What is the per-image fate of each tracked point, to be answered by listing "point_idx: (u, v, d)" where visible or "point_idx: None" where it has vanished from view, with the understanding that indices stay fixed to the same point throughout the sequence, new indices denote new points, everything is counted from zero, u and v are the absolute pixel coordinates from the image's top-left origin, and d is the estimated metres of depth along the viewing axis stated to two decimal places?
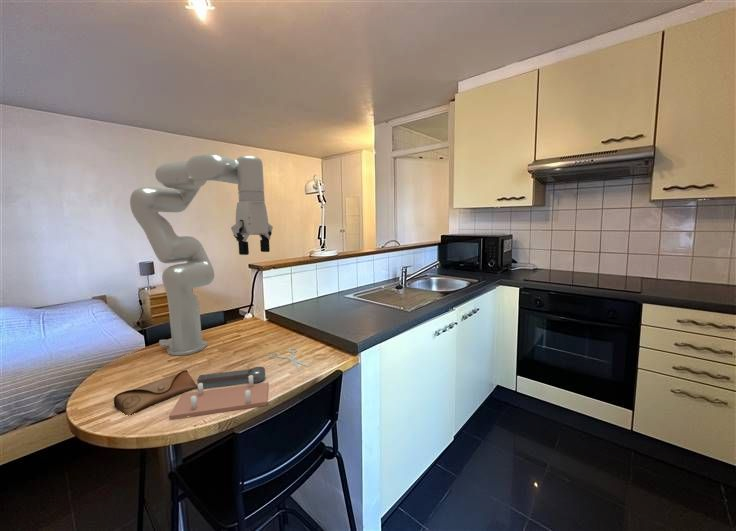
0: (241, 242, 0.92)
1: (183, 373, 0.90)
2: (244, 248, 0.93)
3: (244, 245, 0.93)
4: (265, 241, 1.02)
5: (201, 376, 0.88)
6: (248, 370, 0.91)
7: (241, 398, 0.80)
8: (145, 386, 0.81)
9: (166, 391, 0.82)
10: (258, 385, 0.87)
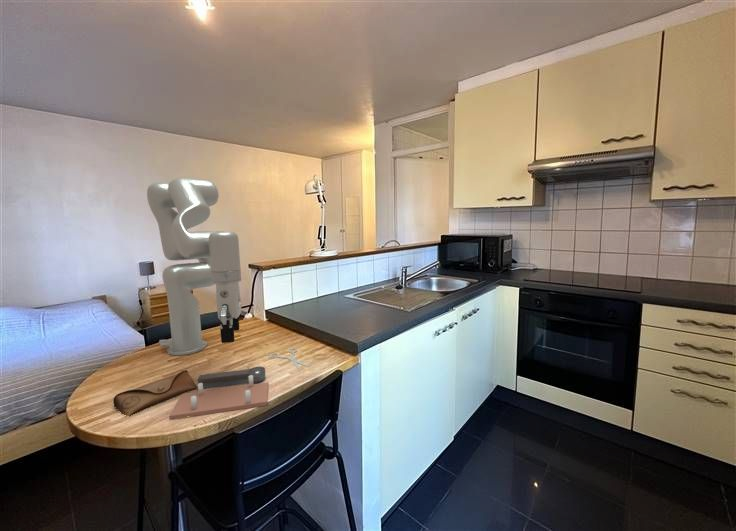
0: None
1: (183, 373, 0.89)
2: None
3: None
4: None
5: (201, 376, 0.88)
6: (248, 370, 0.91)
7: (241, 398, 0.80)
8: (145, 386, 0.81)
9: (166, 391, 0.82)
10: (258, 385, 0.87)
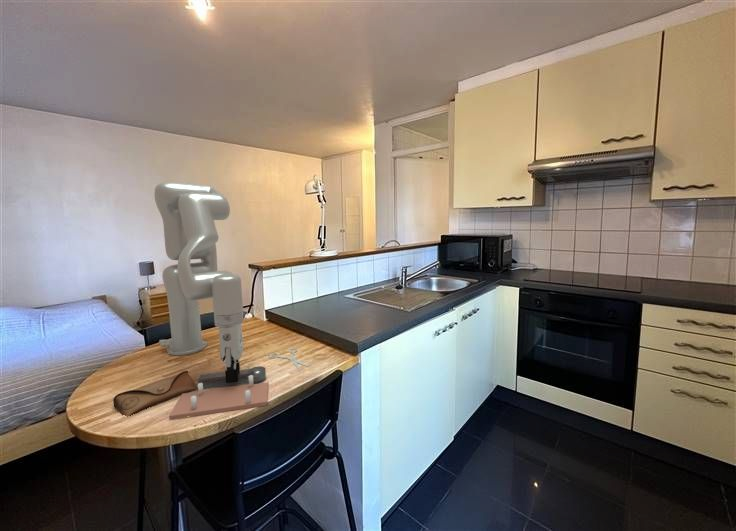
0: None
1: (183, 374, 0.89)
2: None
3: None
4: None
5: (202, 376, 0.88)
6: (248, 370, 0.91)
7: (241, 398, 0.80)
8: (145, 387, 0.81)
9: (165, 392, 0.81)
10: (258, 385, 0.87)
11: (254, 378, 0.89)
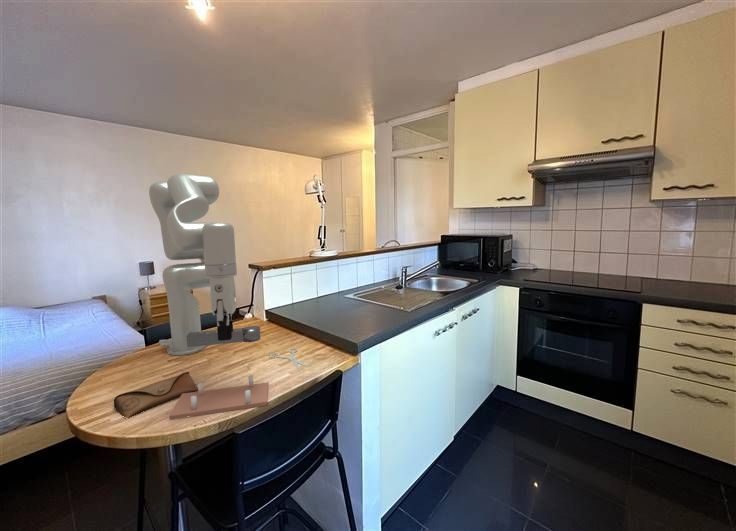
0: None
1: (184, 375, 0.89)
2: None
3: None
4: None
5: (191, 333, 0.82)
6: (242, 328, 0.85)
7: (241, 398, 0.80)
8: (145, 388, 0.80)
9: (166, 393, 0.81)
10: (258, 385, 0.87)
11: (248, 336, 0.83)
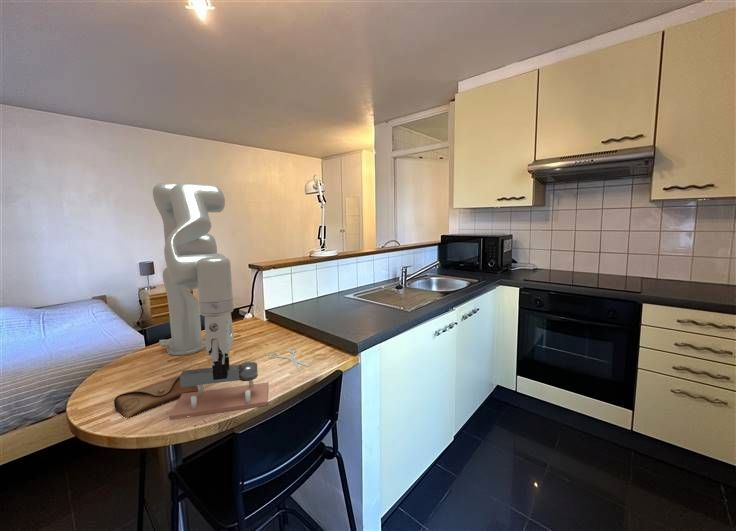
0: None
1: None
2: None
3: None
4: None
5: (185, 372, 0.78)
6: (238, 365, 0.81)
7: (241, 398, 0.80)
8: (145, 388, 0.80)
9: (166, 394, 0.80)
10: (258, 385, 0.87)
11: (244, 375, 0.79)
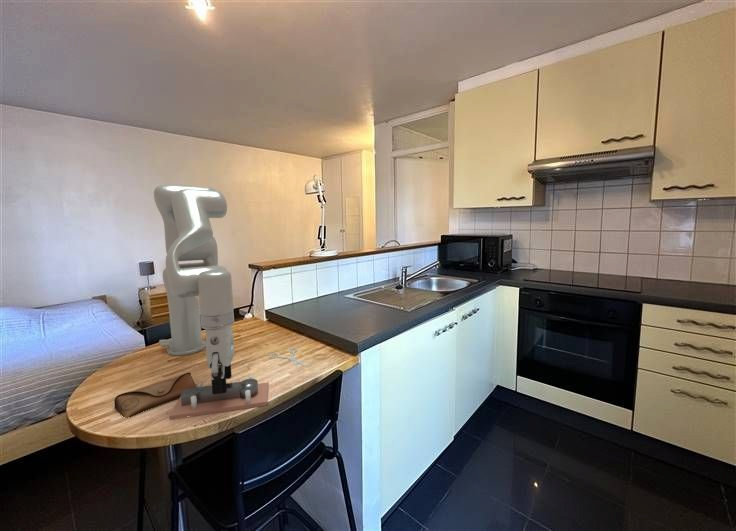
0: None
1: (185, 376, 0.88)
2: None
3: None
4: None
5: (185, 390, 0.78)
6: (239, 383, 0.82)
7: (241, 398, 0.80)
8: (145, 388, 0.80)
9: (165, 394, 0.80)
10: (258, 385, 0.87)
11: None
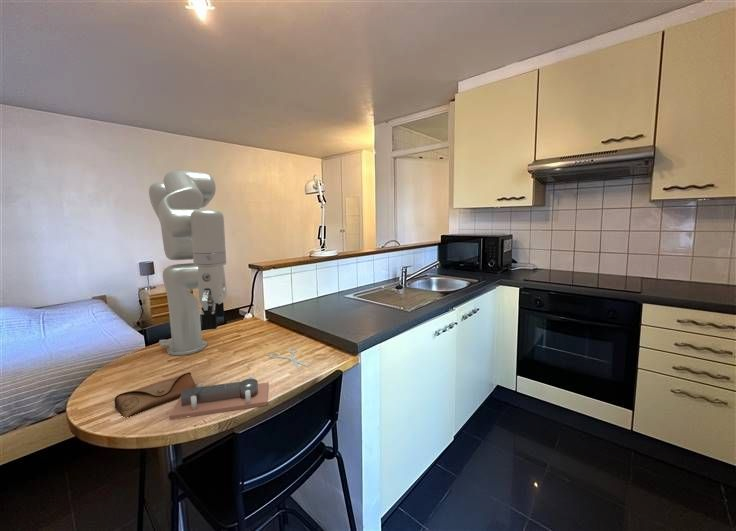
0: None
1: (185, 376, 0.88)
2: None
3: None
4: None
5: (185, 390, 0.78)
6: (239, 383, 0.82)
7: (241, 398, 0.80)
8: (145, 388, 0.80)
9: (165, 394, 0.80)
10: (258, 385, 0.87)
11: None
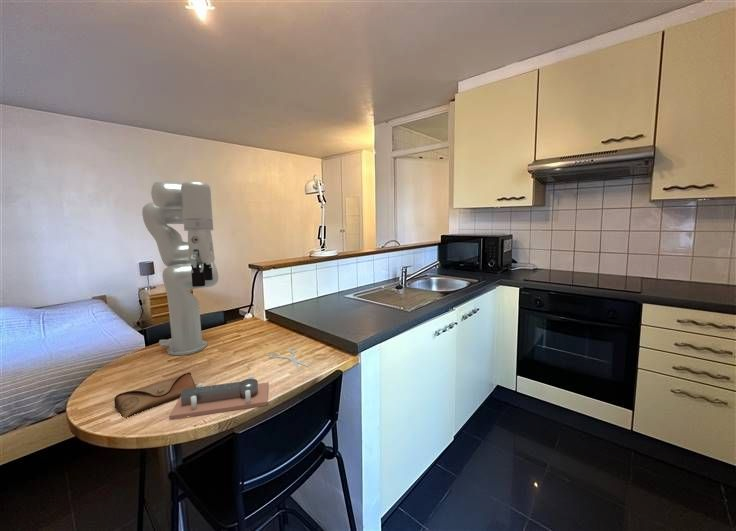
0: None
1: (185, 376, 0.88)
2: None
3: None
4: None
5: (185, 390, 0.78)
6: (239, 383, 0.82)
7: (241, 398, 0.80)
8: (145, 388, 0.81)
9: (165, 394, 0.80)
10: (258, 385, 0.87)
11: None
